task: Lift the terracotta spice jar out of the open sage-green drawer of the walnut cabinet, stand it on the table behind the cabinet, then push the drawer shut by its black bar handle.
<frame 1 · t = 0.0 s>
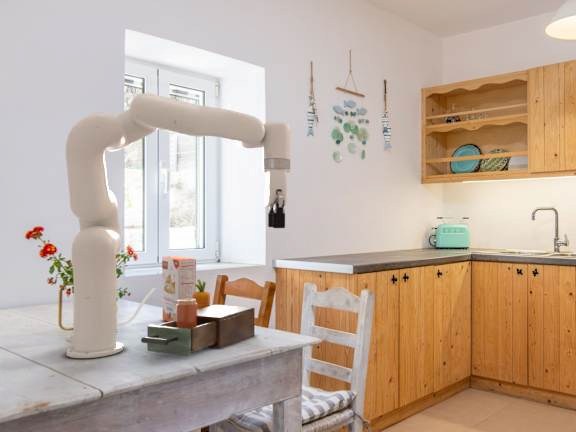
hand: (276, 227, 147), 31 cm above the table, tool pointing down, fingers open, 9 cm apart
cabinet: (217, 339, 146), on the table
spice jar: (186, 342, 135), point 2 cm above the table, touching drawer
carrot: (201, 329, 159), on the table
drawer: (181, 336, 133), point 4 cm above the table, slide at 10.0 cm, touching spice jar
cracker box: (178, 323, 168), on the table
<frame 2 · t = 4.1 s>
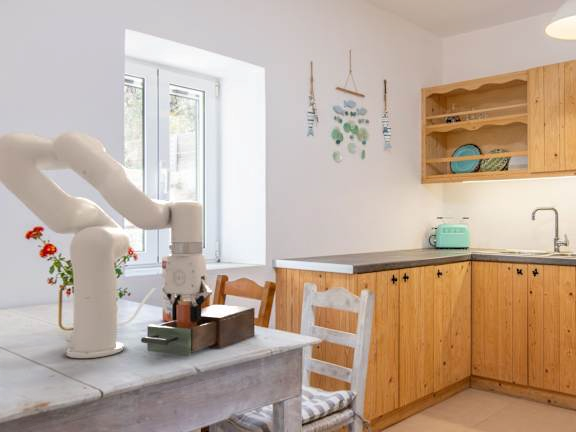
hand: (186, 319, 135), 8 cm above the table, tool pointing down, fingers closed on spice jar, 5 cm apart
spice jar: (186, 342, 135), point 2 cm above the table, touching drawer, gripper
everything else where it was.
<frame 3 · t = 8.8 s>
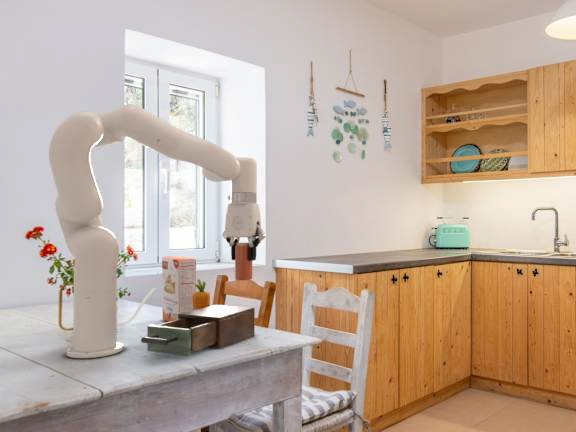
hand: (243, 259, 157), 21 cm above the table, tool pointing down, fingers closed on spice jar, 5 cm apart
spice jar: (243, 279, 157), point 15 cm above the table, touching gripper
drawer: (181, 336, 133), point 4 cm above the table, slide at 10.0 cm
everything else where it was.
when the fingers open (6 cm above the table, at t = 13.4 s): spice jar stays where it is, on the table.
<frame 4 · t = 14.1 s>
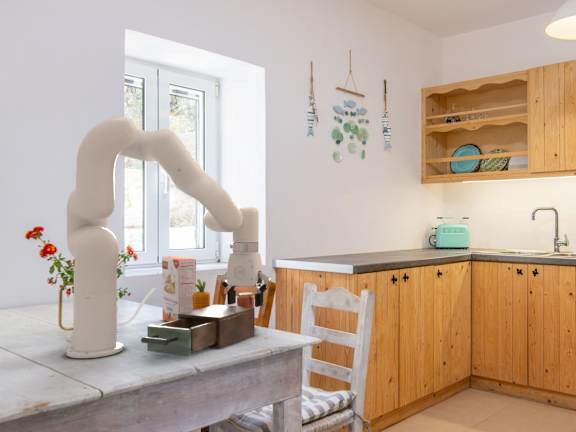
hand: (245, 305, 158), 8 cm above the table, tool pointing down, fingers open, 9 cm apart
spice jar: (245, 329, 158), on the table
everything else where it was.
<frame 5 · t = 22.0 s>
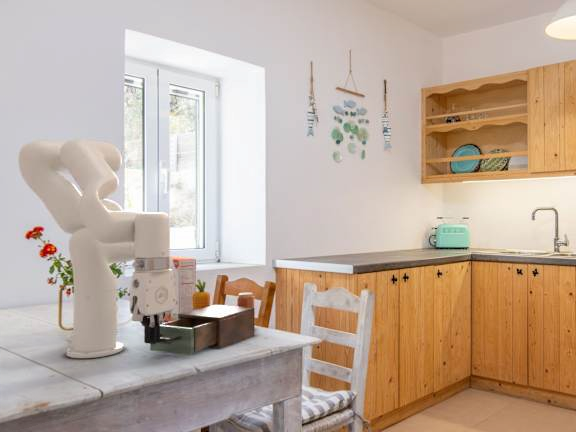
hand: (152, 342, 124), 5 cm above the table, tool pointing down, fingers closed
drawer: (184, 335, 134), point 4 cm above the table, slide at 9.0 cm, touching gripper
everything else where it was.
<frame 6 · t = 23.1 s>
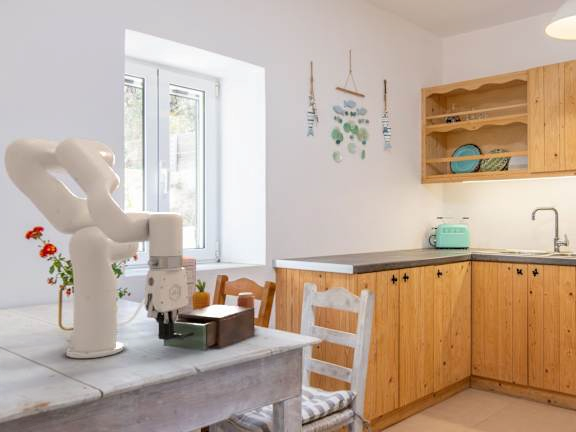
hand: (166, 338, 128), 5 cm above the table, tool pointing down, fingers closed
drawer: (196, 331, 138), point 4 cm above the table, slide at 4.5 cm, touching gripper
everything else where it was.
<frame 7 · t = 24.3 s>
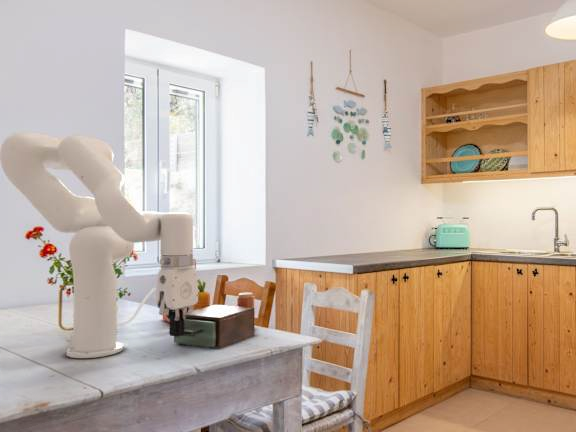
hand: (177, 335, 131), 5 cm above the table, tool pointing down, fingers closed
drawer: (205, 328, 142), point 4 cm above the table, slide at 0.9 cm, touching gripper
everything else where it was.
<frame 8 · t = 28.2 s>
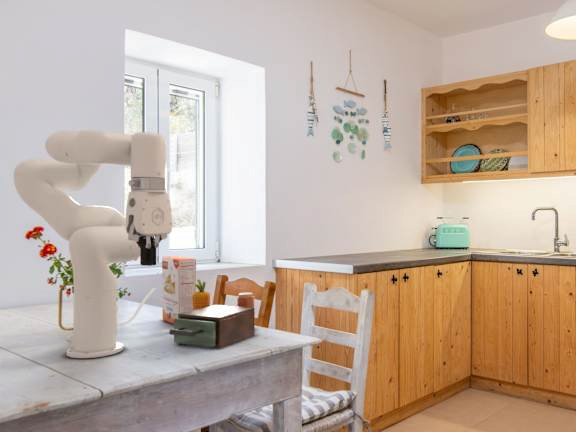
hand: (148, 264, 123), 23 cm above the table, tool pointing down, fingers closed
drawer: (205, 328, 142), point 4 cm above the table, slide at 0.9 cm
everything else where it was.
at the end: spice jar inside the target area (0.1 cm from its centre), on the table; spice jar tilted 0°; drawer slide at 0.9 cm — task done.
